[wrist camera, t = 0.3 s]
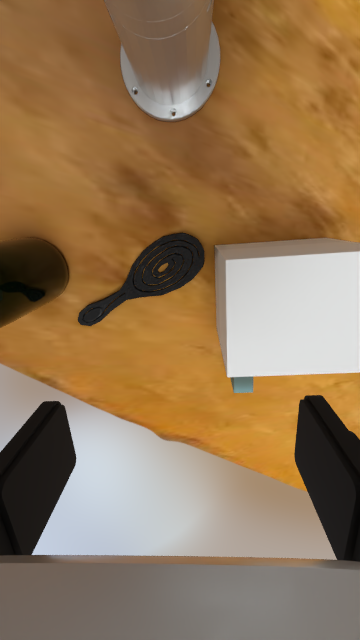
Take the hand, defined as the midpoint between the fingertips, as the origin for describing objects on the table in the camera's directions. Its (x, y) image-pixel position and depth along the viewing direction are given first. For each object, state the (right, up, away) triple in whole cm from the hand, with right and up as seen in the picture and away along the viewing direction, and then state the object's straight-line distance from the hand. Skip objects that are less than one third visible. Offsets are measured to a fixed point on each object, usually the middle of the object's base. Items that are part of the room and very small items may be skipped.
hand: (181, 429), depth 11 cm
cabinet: (+14, +10, +34) cm, 39 cm away
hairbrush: (-7, +10, +36) cm, 38 cm away
